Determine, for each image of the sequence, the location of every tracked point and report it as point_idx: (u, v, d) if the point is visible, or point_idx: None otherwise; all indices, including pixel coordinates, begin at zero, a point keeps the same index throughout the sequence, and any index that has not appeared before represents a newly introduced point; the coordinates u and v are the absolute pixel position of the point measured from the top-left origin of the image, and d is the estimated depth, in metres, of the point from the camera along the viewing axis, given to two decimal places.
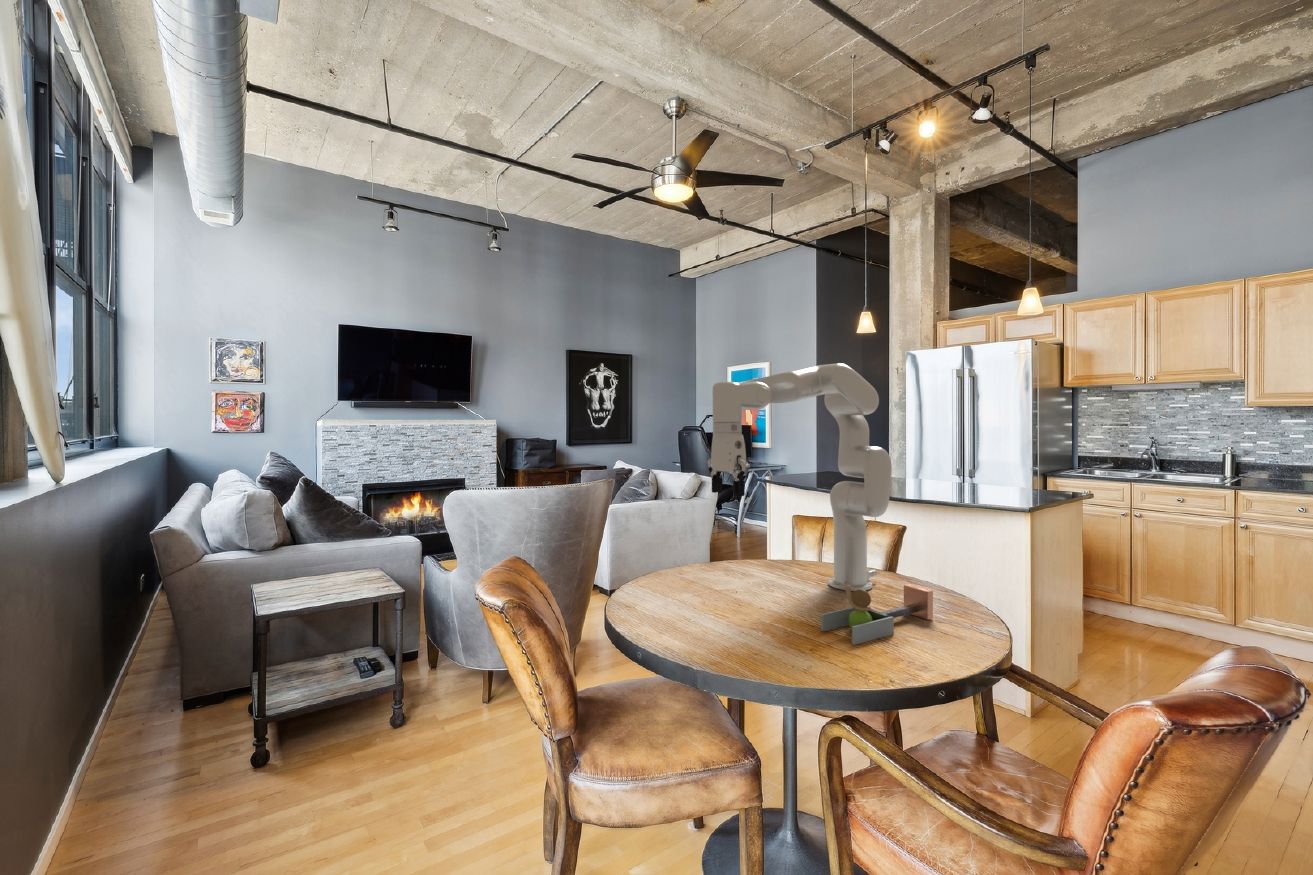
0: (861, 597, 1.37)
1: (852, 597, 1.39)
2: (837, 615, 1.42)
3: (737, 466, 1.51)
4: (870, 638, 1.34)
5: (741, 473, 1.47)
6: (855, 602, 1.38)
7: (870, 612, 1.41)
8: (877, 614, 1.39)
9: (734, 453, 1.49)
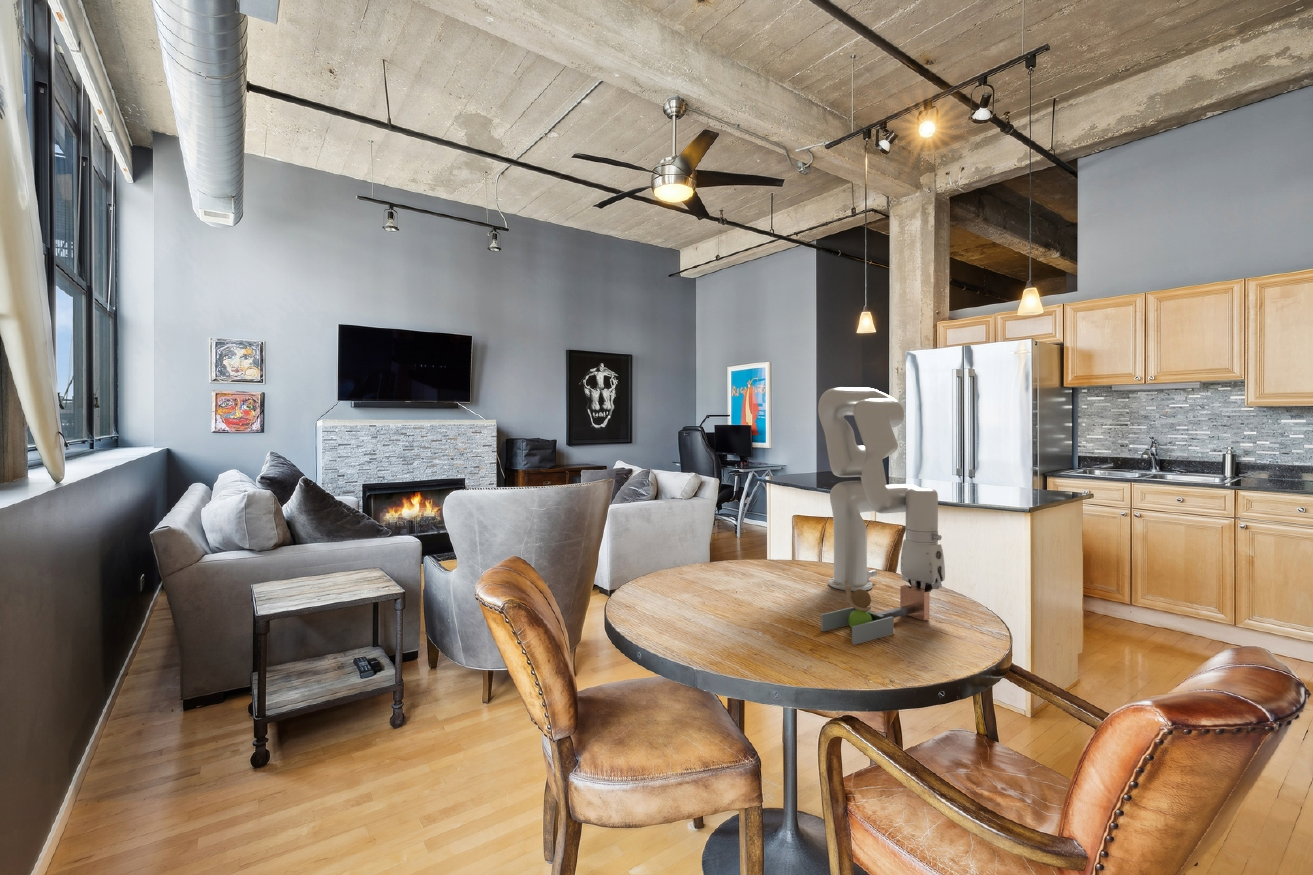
0: (861, 597, 1.37)
1: (852, 597, 1.39)
2: (837, 615, 1.42)
3: None
4: (870, 638, 1.34)
5: (929, 587, 1.47)
6: (855, 602, 1.38)
7: None
8: (873, 615, 1.39)
9: (935, 564, 1.45)
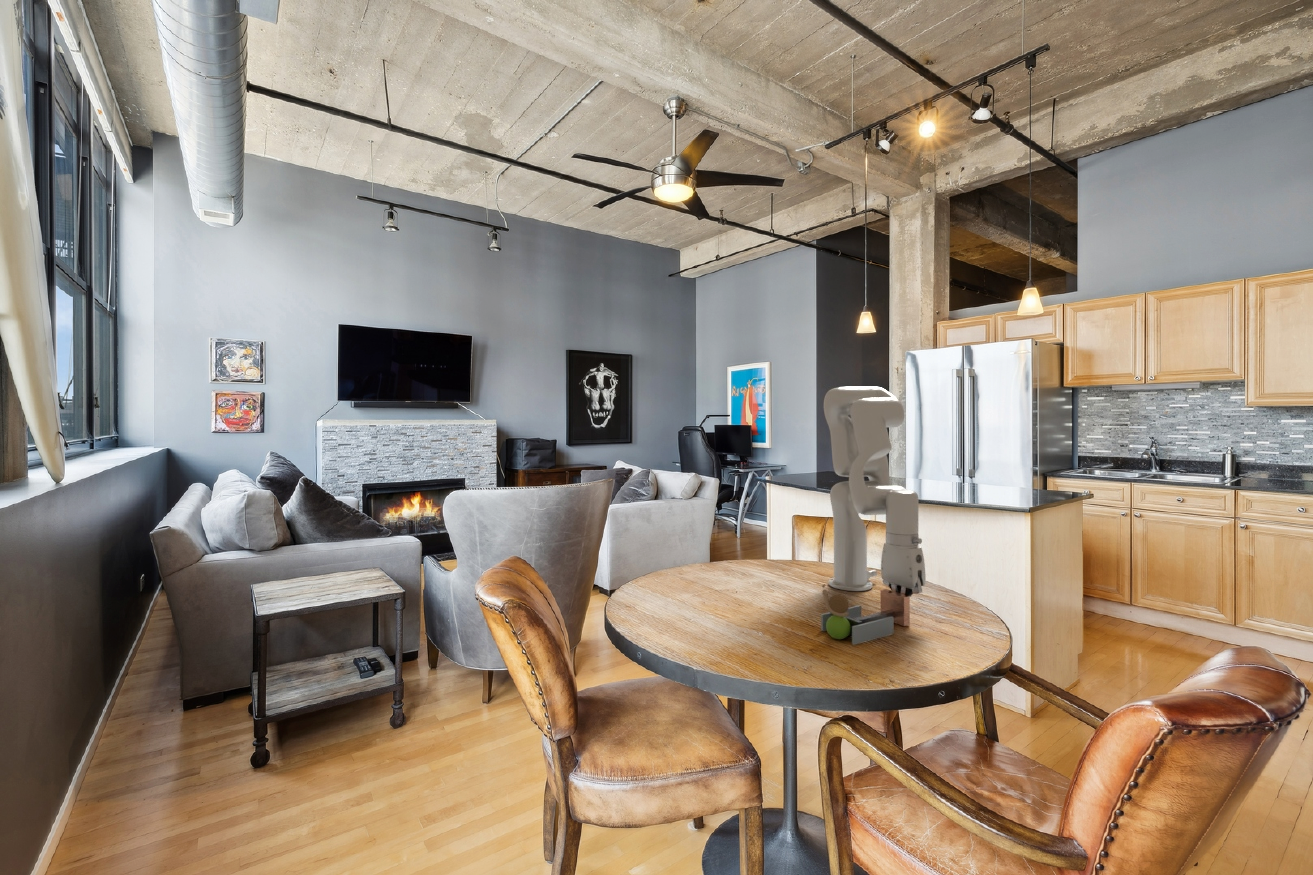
0: (839, 602, 1.34)
1: (830, 602, 1.35)
2: None
3: None
4: (870, 638, 1.34)
5: (909, 591, 1.43)
6: (833, 607, 1.35)
7: None
8: (851, 621, 1.35)
9: (915, 568, 1.41)
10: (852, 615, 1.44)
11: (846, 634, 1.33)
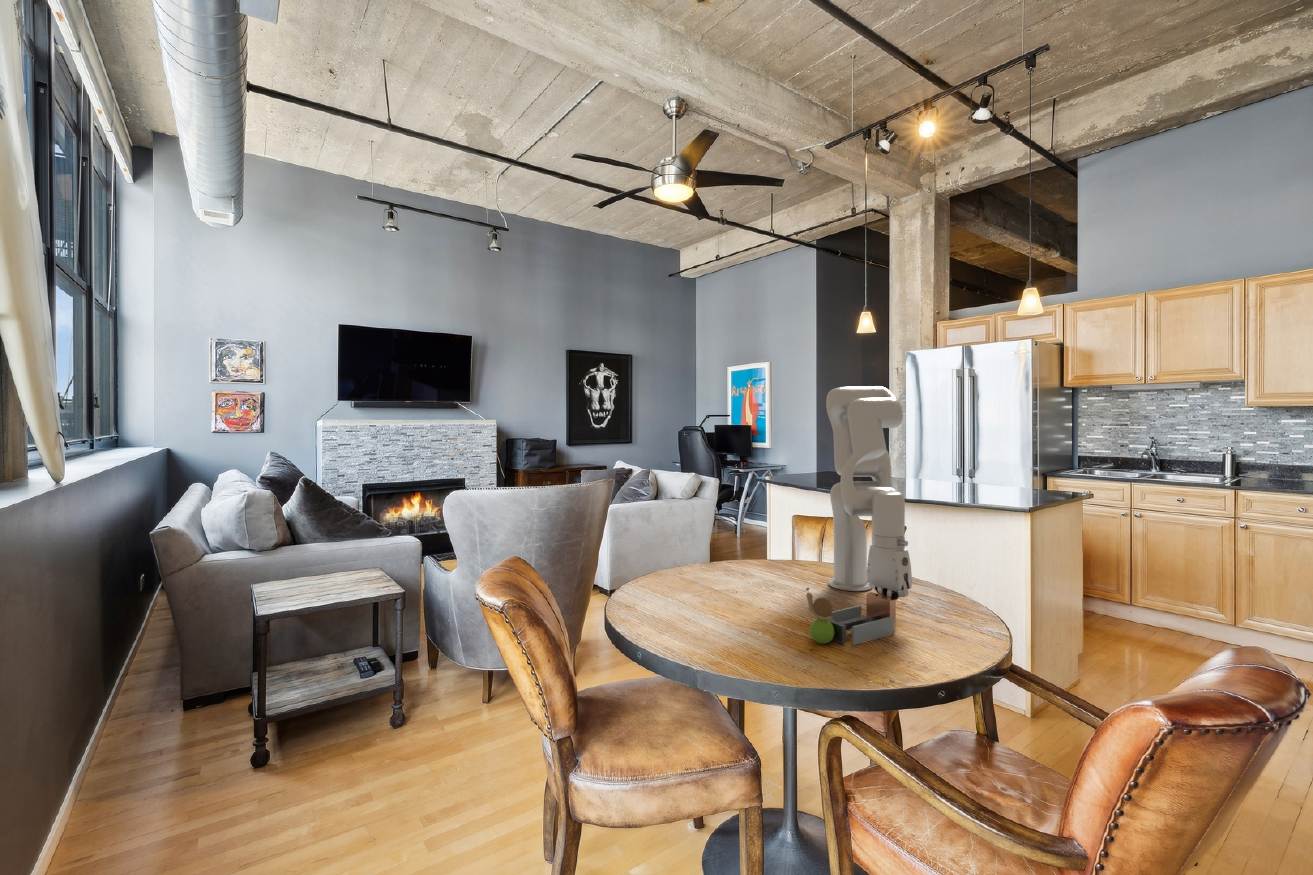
0: (822, 606, 1.31)
1: (813, 606, 1.33)
2: (837, 615, 1.42)
3: None
4: (870, 638, 1.34)
5: (895, 594, 1.41)
6: (816, 611, 1.32)
7: None
8: (835, 625, 1.32)
9: (901, 571, 1.38)
10: (852, 615, 1.44)
11: (830, 638, 1.30)
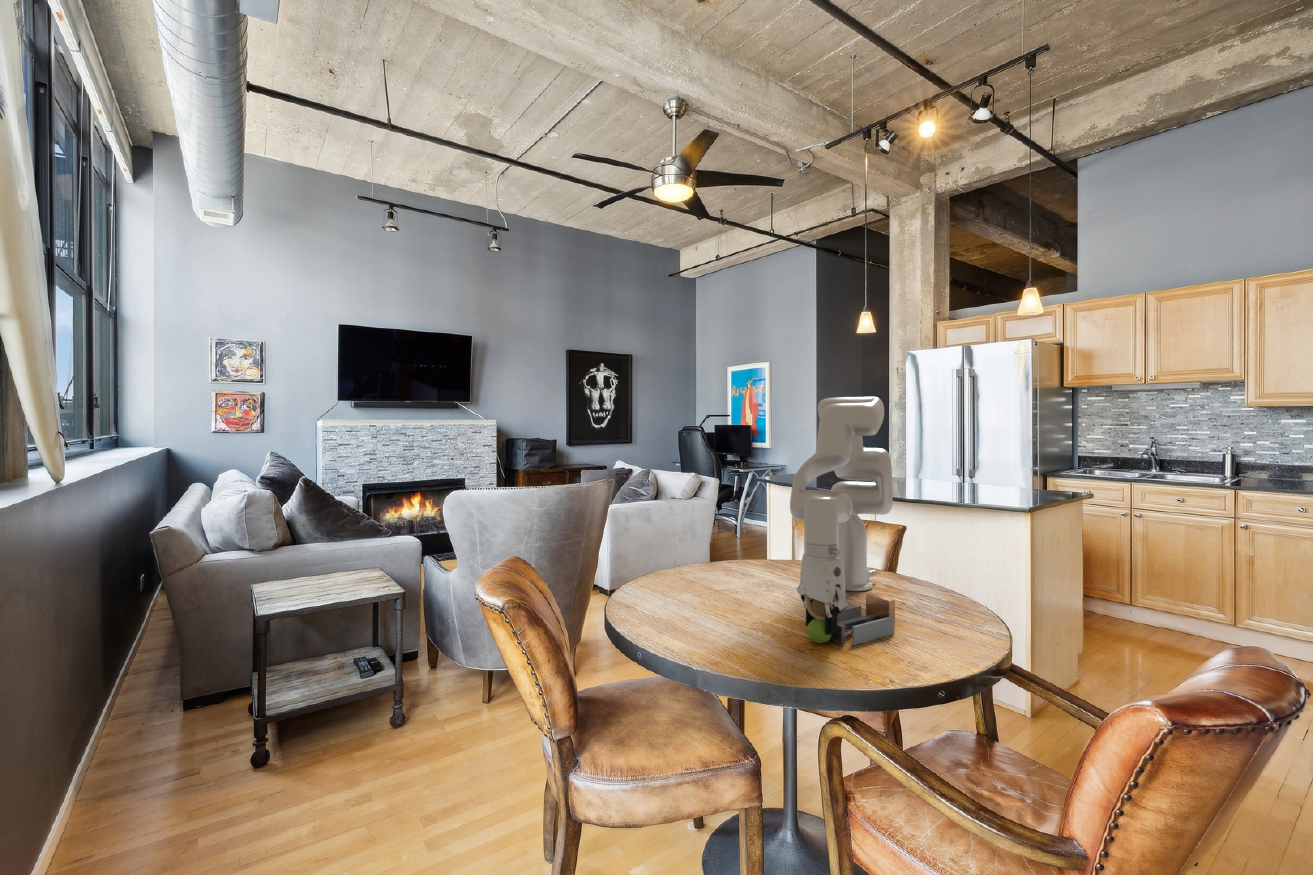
0: (820, 606, 1.31)
1: (811, 605, 1.33)
2: None
3: None
4: (870, 638, 1.34)
5: (835, 610, 1.27)
6: (814, 611, 1.32)
7: None
8: None
9: (833, 582, 1.28)
10: (852, 615, 1.44)
11: (827, 638, 1.30)
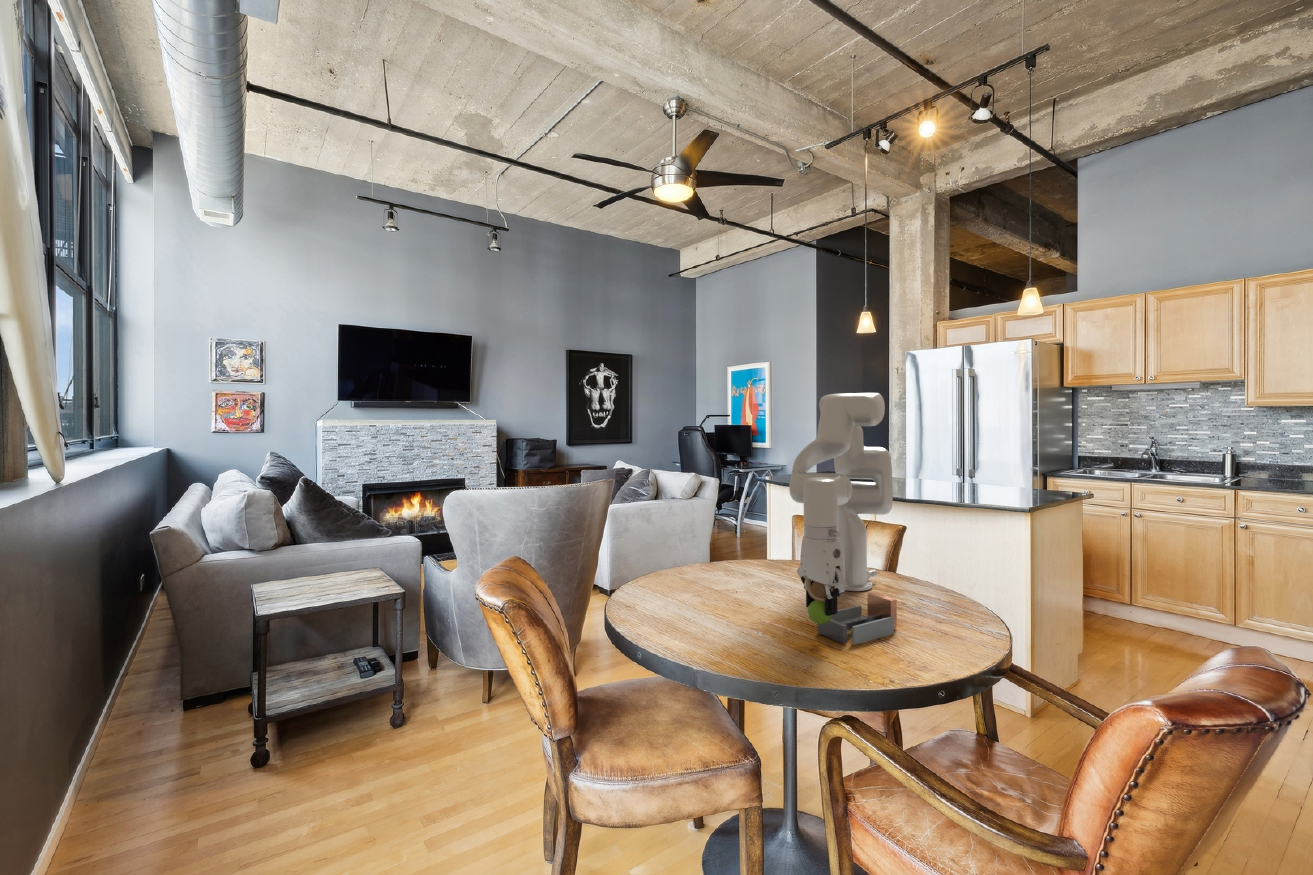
0: (820, 587, 1.32)
1: (811, 587, 1.34)
2: (837, 615, 1.42)
3: None
4: (870, 638, 1.34)
5: (835, 591, 1.28)
6: (814, 592, 1.33)
7: (829, 622, 1.34)
8: (836, 624, 1.33)
9: (832, 564, 1.28)
10: (852, 615, 1.44)
11: (827, 619, 1.31)
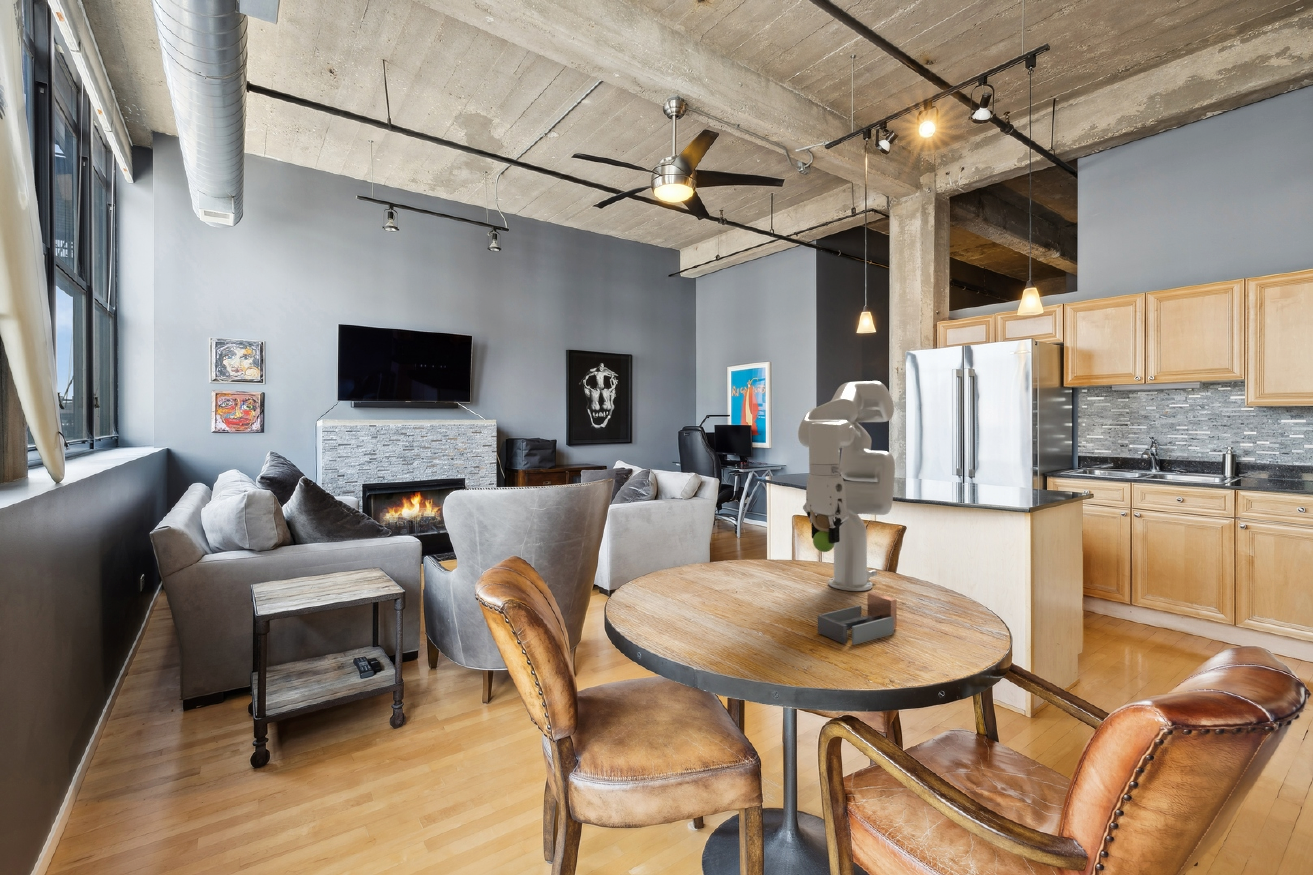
0: (824, 519, 1.49)
1: (816, 519, 1.50)
2: (837, 615, 1.42)
3: (836, 509, 1.47)
4: (870, 638, 1.34)
5: (838, 520, 1.45)
6: (819, 524, 1.50)
7: (829, 622, 1.34)
8: (836, 624, 1.33)
9: (835, 496, 1.45)
10: (852, 615, 1.44)
11: (831, 547, 1.48)
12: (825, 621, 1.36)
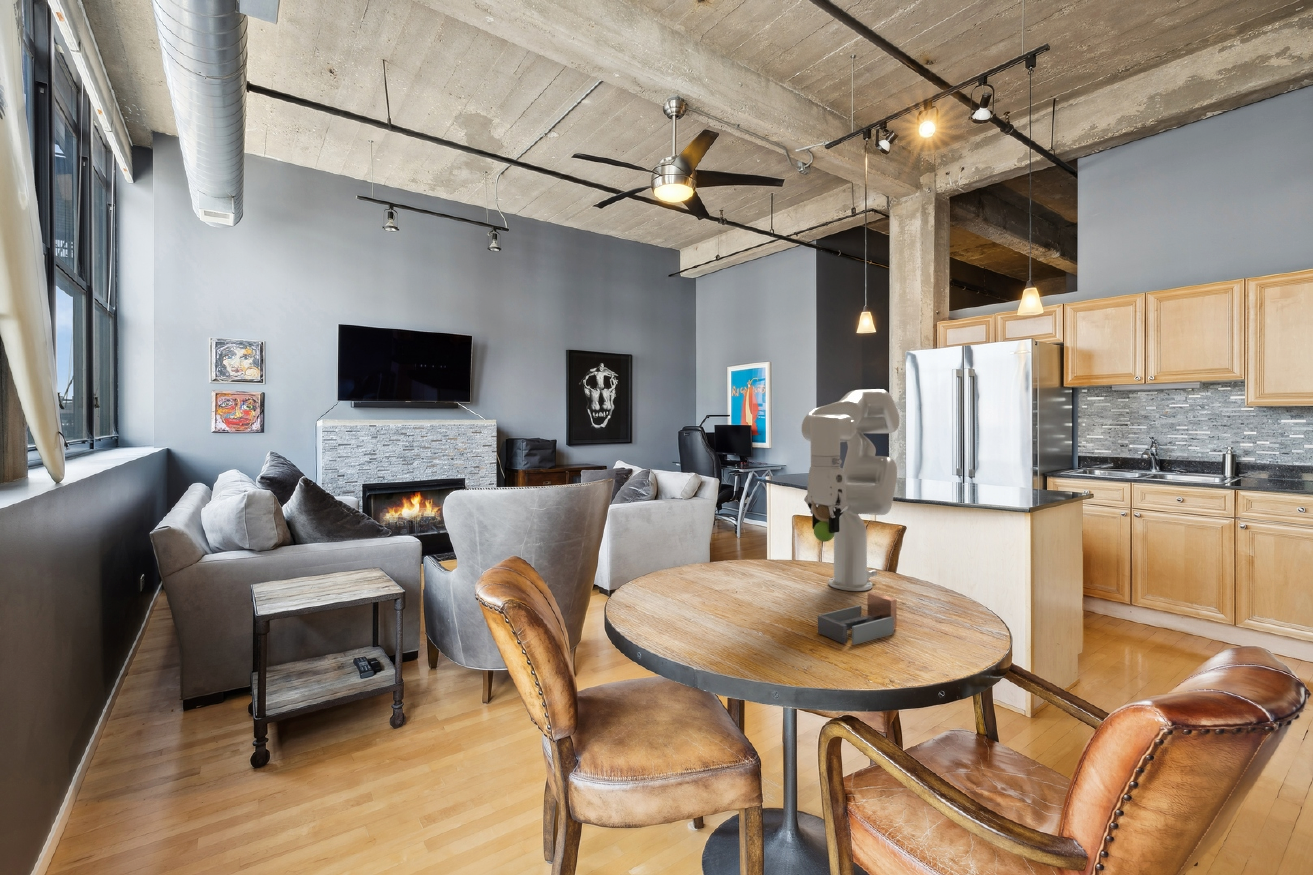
0: (825, 509, 1.53)
1: (817, 510, 1.55)
2: (837, 615, 1.42)
3: (837, 499, 1.52)
4: (870, 638, 1.34)
5: (838, 510, 1.50)
6: (819, 514, 1.55)
7: (829, 622, 1.34)
8: (836, 624, 1.33)
9: (835, 487, 1.50)
10: (852, 615, 1.44)
11: (831, 536, 1.53)
12: (825, 621, 1.36)
